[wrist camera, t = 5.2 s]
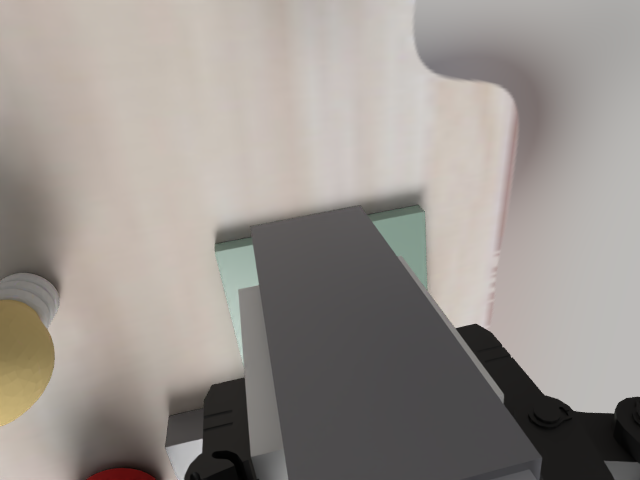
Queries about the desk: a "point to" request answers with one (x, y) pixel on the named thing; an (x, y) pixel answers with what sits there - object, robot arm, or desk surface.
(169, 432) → the push button
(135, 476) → the beverage can
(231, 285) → the board
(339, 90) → the desk surface
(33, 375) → the light bulb
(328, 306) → the plug
